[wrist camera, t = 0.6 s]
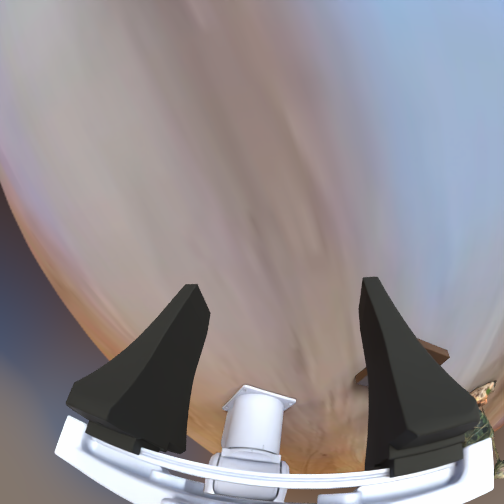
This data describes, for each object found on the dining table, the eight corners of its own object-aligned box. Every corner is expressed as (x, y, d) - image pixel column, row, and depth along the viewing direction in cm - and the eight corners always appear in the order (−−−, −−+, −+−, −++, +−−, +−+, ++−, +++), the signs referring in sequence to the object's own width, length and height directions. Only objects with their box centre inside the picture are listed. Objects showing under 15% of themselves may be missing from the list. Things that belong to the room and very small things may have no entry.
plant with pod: (451, 394, 32) (470, 495, 15) (500, 374, 29) (526, 464, 12) (441, 413, 36) (454, 501, 19) (486, 395, 33) (505, 476, 16)
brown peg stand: (401, 387, 31) (407, 424, 26) (355, 376, 30) (359, 418, 25) (447, 350, 27) (461, 389, 21) (404, 332, 26) (418, 379, 20)
